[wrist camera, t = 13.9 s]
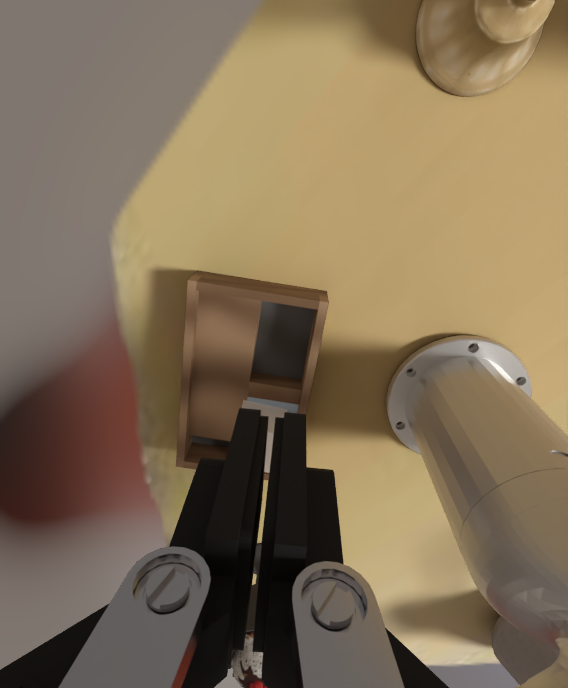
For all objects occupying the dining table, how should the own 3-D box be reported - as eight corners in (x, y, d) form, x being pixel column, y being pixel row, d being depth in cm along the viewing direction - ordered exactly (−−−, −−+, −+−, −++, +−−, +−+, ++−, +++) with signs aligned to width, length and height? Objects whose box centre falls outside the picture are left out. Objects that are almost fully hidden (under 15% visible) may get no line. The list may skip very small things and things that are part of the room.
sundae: (301, 573, 48) (299, 734, 35) (247, 584, 50) (225, 744, 36) (282, 532, 46) (273, 688, 32) (226, 544, 47) (194, 700, 33)
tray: (197, 270, 35) (187, 280, 32) (326, 291, 35) (328, 302, 32) (185, 445, 42) (175, 466, 39) (293, 461, 42) (292, 483, 39)
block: (243, 399, 37) (236, 425, 34) (287, 409, 37) (285, 435, 34) (235, 436, 39) (228, 464, 35) (277, 445, 39) (275, 474, 35)
